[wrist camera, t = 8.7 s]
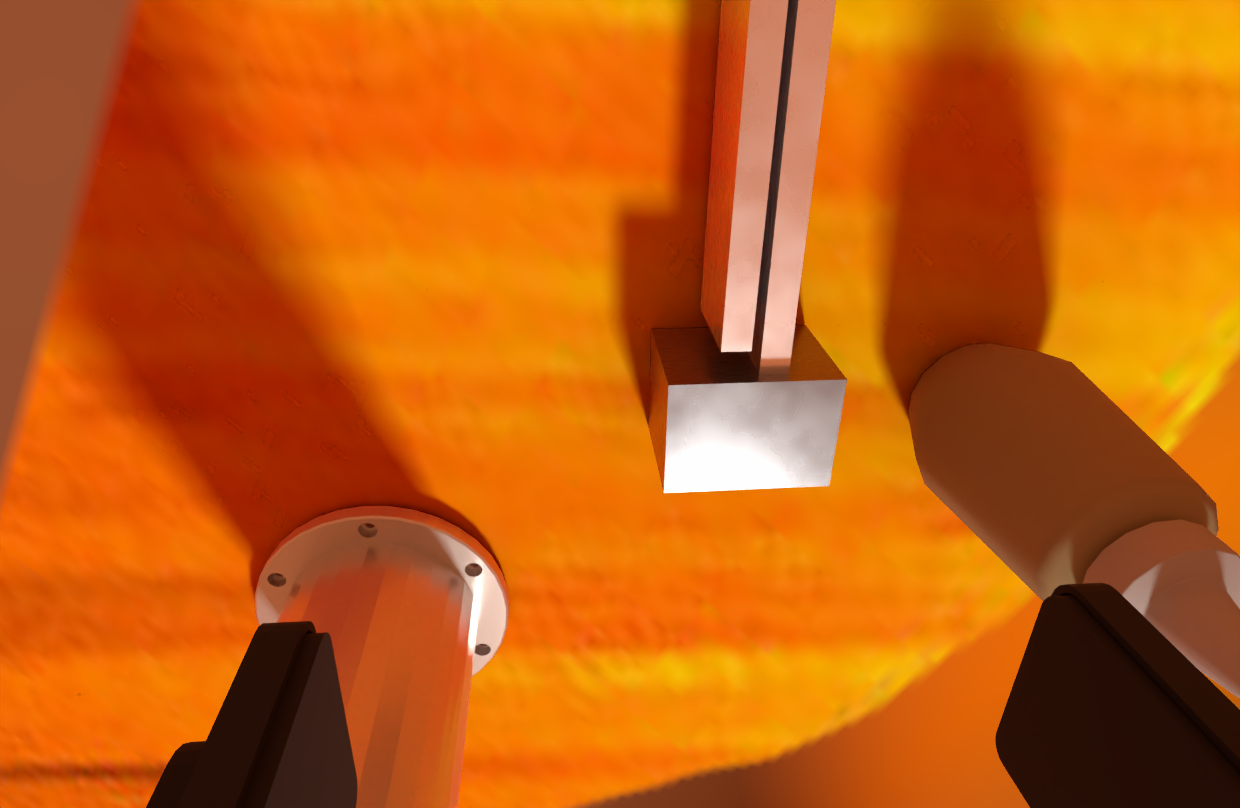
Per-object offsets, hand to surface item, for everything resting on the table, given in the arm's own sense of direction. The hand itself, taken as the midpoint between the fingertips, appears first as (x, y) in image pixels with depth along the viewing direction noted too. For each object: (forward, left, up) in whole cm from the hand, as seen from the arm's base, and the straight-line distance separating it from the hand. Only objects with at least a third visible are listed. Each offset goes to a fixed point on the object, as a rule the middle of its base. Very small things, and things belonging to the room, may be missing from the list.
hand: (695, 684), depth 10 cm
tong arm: (+5, -5, -24) cm, 25 cm away
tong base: (+2, -6, -24) cm, 25 cm away
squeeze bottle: (-9, -18, -24) cm, 32 cm away
